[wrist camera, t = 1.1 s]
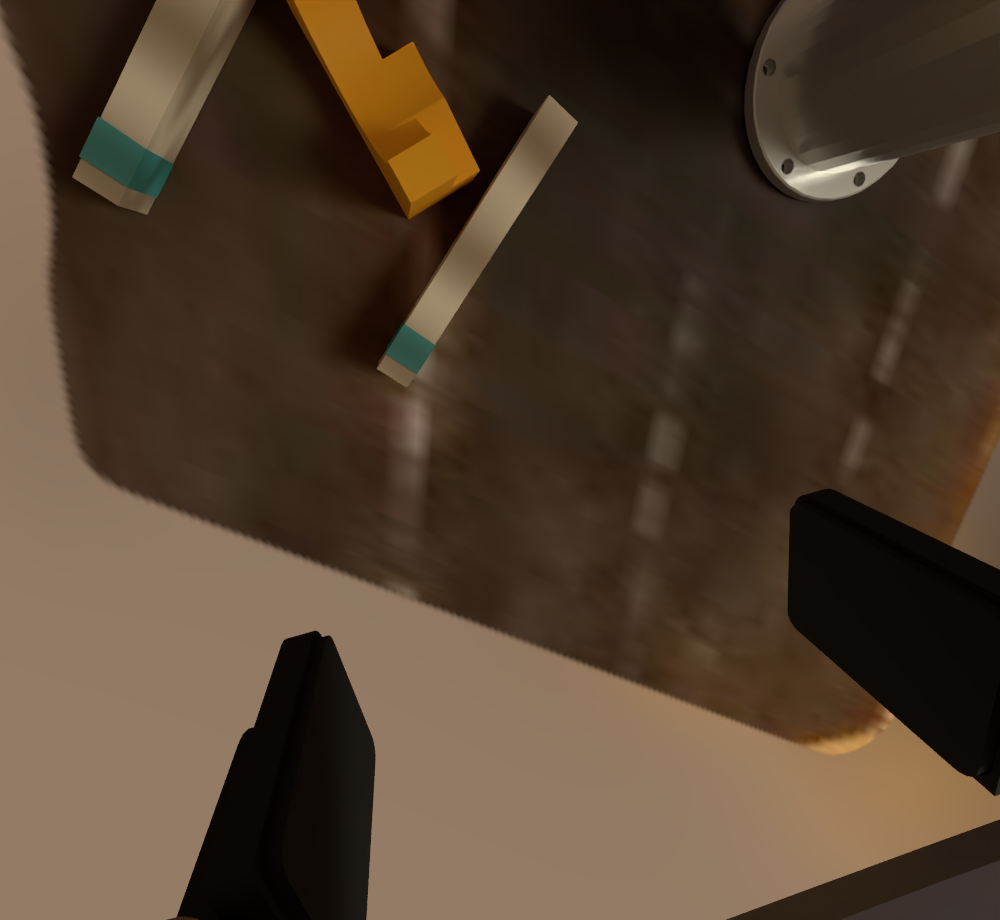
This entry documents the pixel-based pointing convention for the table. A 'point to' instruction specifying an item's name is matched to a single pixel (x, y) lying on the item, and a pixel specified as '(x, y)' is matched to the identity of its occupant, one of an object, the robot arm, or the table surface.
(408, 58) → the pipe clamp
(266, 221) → the table surface
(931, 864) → the robot arm
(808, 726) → the table surface
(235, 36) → the channel
